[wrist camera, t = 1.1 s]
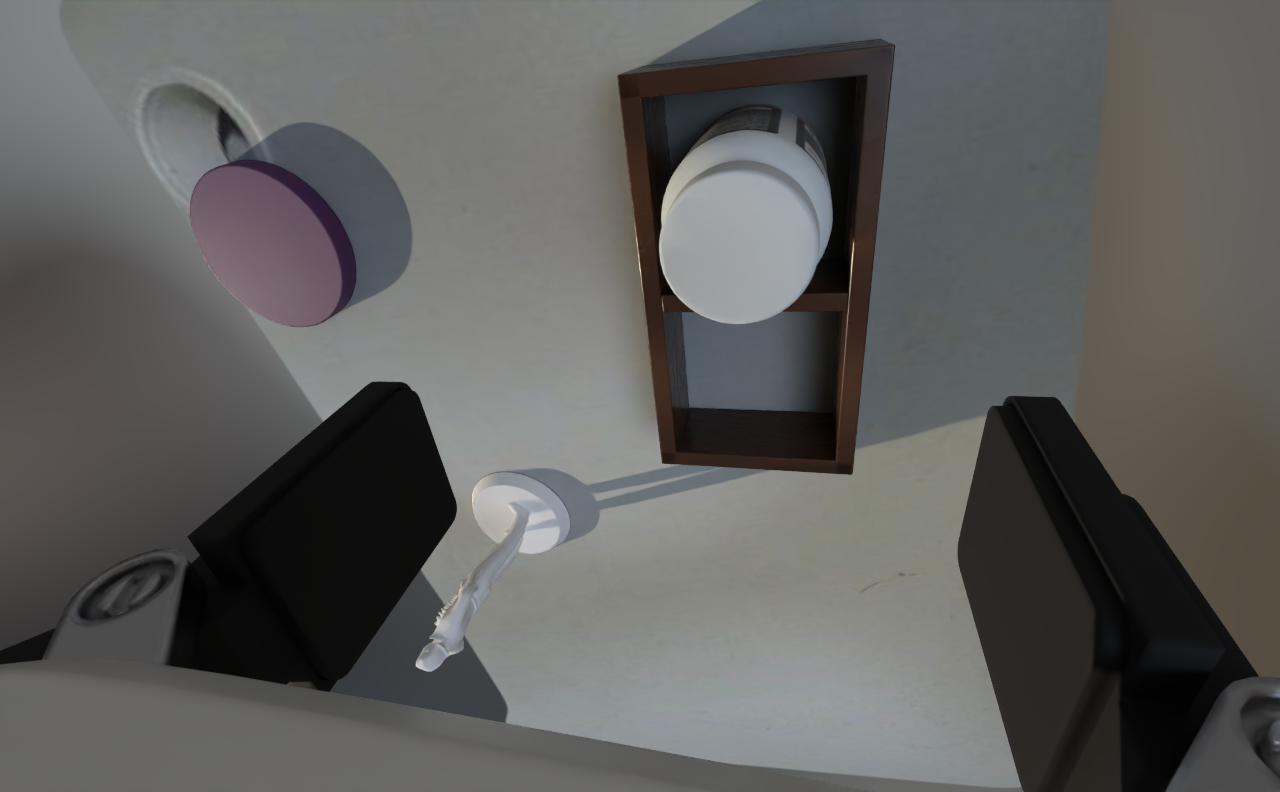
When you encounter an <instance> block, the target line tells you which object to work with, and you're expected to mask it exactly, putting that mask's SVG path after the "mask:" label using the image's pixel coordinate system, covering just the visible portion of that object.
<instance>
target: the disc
mask: <svg viewBox="0 0 1280 792" xmlns="http://www.w3.org/2000/svg"><path fill="white" fill-rule="evenodd" d="M190 217H191V224H192V229H193V233H194V236H195V239H196V242H197V244H198V247H199V249H200V251H201V253H202V255H203V257H204V259H205V261H206V262H207V264H208V266H209V267H210V269H211V270H212V272H213V273H214V275H215V276H216V277H217V278H218V280H219V281H220V282H221V283H222V284H223V286H224V287H225V288H226V289H227V290H228V291H229V292H230V293H231V294H232V295H233V296H234V297H235V298H237V299H238V300H239V301H240V302H241V303H243V304H244V305H245V306H246V307H248V308H249V309H251V310H252V311H254V312H255V313H257V314H259V315H261V316H262V317H264V318H266V319H269V320H271V321H273V322H276V323H279V324H282V325H287V326H292V327H309V326H314V325H317V324H320V323H322V322H324V321H326V320H327V319H329V318H330V317H332V316H333V315H335V314H336V313H338V312H339V311H341V310H342V309H343V308H344V307H345V306H346V304H347V303H348V301H349V300H350V298H351V296H352V293H353V291H354V286H355V280H356V267H355V260H354V255H353V251H352V248H351V245H350V242H349V239H348V237H347V235H346V232H345V230H344V229H343V227H342V225H341V223H340V221H339V220H338V218H337V217H336V215H335V214H334V212H333V211H332V209H331V208H330V207H329V206H328V205H327V203H326V202H325V201H324V200H323V199H322V198H321V197H320V196H319V195H318V193H317V192H316V191H314V190H313V189H312V188H311V187H310V186H309V185H308V184H306V183H305V182H304V181H302V180H301V179H300V178H298V177H297V176H295V175H293V174H292V173H290V172H288V171H287V170H285V169H282V168H280V167H278V166H275V165H272V164H269V163H266V162H261V161H255V160H243V161H237V162H233V163H229V164H226V165H222V166H219V167H216V168H214V169H211V170H210V171H208V172H207V173H205V174H204V175H203V176H202V177H201V179H200V180H199V181H198V183H197V184H196V186H195V188H194V191H193V193H192V197H191V203H190Z"/></svg>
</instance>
